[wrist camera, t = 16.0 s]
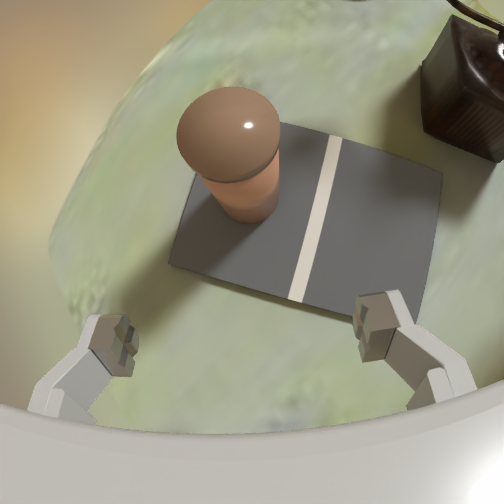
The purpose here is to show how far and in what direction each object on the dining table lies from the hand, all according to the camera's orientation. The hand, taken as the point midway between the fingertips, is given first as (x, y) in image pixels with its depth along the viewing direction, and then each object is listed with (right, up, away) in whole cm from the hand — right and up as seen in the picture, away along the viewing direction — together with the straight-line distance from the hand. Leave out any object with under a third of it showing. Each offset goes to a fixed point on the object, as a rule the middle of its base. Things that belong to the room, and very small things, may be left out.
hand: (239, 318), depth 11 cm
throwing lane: (+6, +5, +16) cm, 18 cm away
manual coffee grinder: (+21, +19, +17) cm, 33 cm away
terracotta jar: (0, +7, +16) cm, 17 cm away
